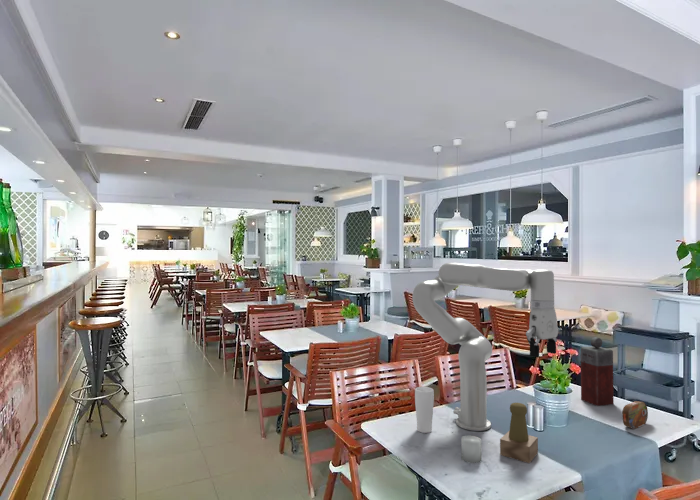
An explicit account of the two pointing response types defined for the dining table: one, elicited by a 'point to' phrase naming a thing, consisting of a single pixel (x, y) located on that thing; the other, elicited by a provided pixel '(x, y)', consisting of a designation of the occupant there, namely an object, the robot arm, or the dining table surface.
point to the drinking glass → (424, 408)
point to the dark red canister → (597, 374)
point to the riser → (519, 448)
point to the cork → (518, 423)
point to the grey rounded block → (471, 449)
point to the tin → (635, 414)
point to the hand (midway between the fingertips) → (543, 354)
